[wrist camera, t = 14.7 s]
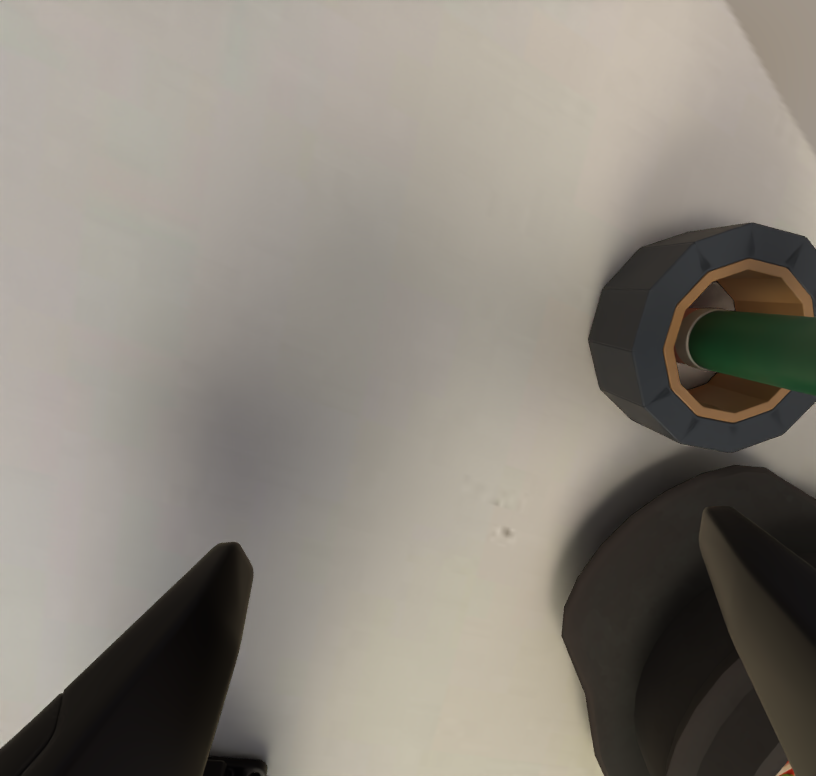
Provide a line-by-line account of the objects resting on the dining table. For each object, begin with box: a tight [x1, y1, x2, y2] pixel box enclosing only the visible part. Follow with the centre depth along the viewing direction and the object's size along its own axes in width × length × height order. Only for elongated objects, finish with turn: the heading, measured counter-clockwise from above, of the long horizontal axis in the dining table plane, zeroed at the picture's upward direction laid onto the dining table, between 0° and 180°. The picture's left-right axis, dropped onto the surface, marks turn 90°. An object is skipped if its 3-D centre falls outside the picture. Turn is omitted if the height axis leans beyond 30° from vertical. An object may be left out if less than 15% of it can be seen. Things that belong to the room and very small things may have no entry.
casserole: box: [562, 465, 816, 776], centre depth 22 cm, size 25×19×8 cm
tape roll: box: [588, 223, 816, 453], centre depth 20 cm, size 8×8×4 cm
